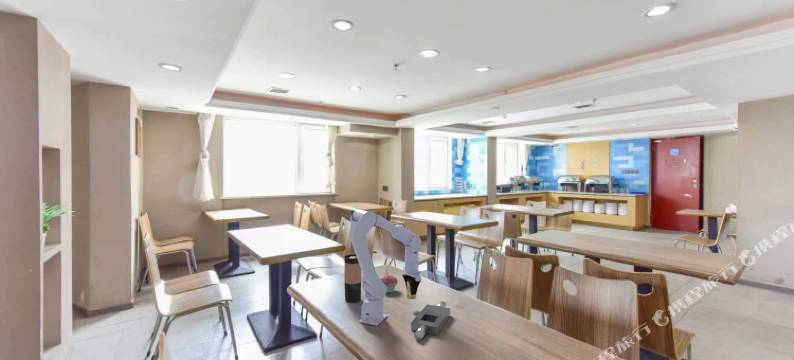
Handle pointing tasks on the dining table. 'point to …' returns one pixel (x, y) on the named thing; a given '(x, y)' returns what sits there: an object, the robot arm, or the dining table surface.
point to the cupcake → (389, 282)
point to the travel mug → (352, 279)
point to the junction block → (430, 320)
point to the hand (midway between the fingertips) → (411, 292)
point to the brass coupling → (409, 292)
